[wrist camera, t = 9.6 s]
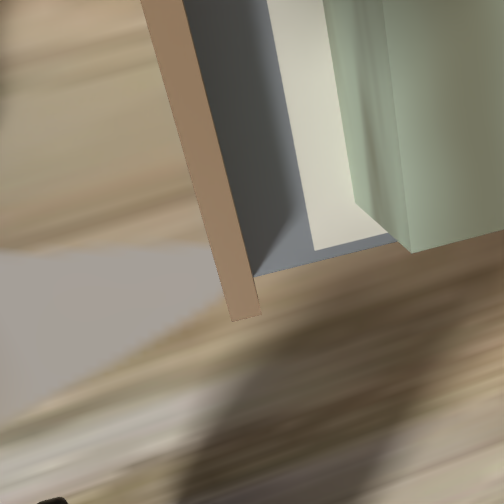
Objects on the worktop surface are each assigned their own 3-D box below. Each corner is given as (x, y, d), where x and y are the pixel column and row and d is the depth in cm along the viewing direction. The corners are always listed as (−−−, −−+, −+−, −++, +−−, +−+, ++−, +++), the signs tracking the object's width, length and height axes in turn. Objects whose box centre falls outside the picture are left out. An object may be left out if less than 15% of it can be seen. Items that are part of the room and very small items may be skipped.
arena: (570, 191, 18) (649, 218, 15) (227, 277, 18) (231, 321, 15) (589, -281, 13) (716, -397, 10) (105, -161, 13) (72, -239, 10)
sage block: (460, -85, 14) (588, -163, 9) (474, 171, 17) (576, 210, 12) (315, -47, 14) (369, -105, 9) (354, 203, 17) (411, 253, 12)
